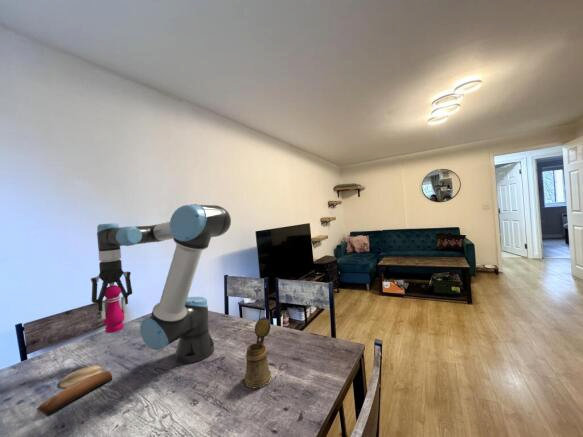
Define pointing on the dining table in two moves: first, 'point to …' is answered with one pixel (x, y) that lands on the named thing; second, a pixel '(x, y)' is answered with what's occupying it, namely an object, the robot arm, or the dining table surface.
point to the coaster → (79, 375)
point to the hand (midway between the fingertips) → (114, 315)
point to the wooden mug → (258, 357)
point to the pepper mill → (113, 309)
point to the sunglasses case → (74, 392)
